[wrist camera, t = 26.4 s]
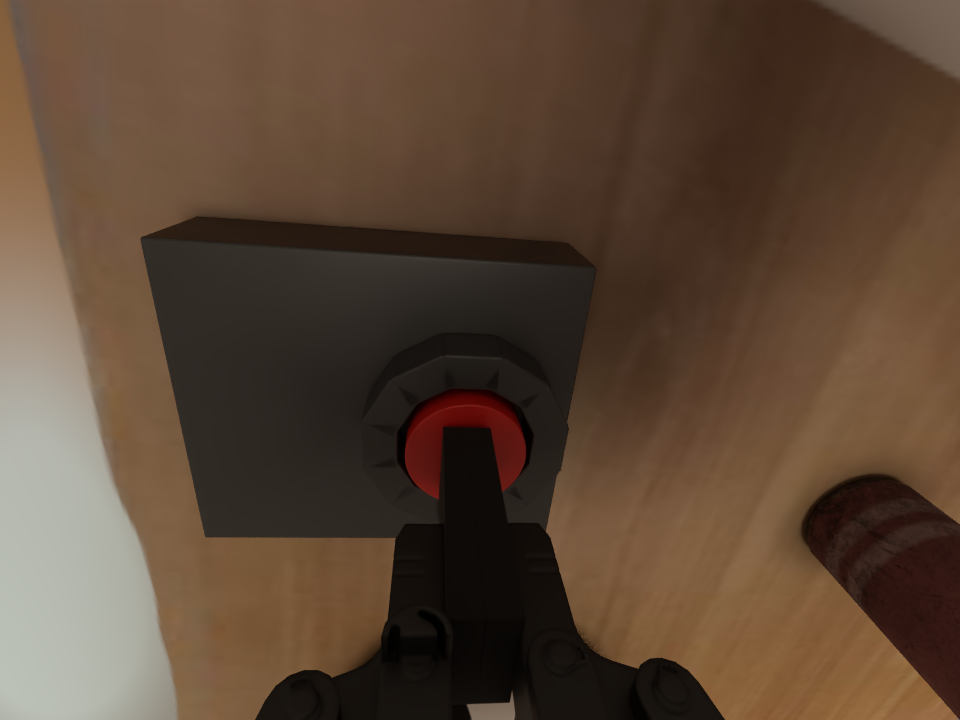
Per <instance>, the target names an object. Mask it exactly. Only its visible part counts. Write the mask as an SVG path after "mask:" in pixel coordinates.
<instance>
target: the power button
mask: <svg viewBox="0 0 960 720" xmlns="http://www.w3.org/2000/svg"><path fill="white" fill-rule="evenodd" d="M443 426H444V427H483V428H491V433H492V438H493V444H494V449H495V455H496V460H497V465H498V471H499V476H500V482H501V487H502V492H503V491H504V490H505V489H507V488H508V487H509V486H510V485H511V484H512V483H513V482H514V481H515V480H516V478H517V477H518V476H519V474H520V472H521V470H522V468H523V465H524V462H525V458H526V444H525V440H524V436H523V432H522V429H521V425H520V422H519V418H518V414H517V411H516V409H515V406H514V405H513V403H512V402H510V401H508V400H506V399H505V398H503V397H501V396H499V395H498V394H496V393H494V392H493V391H491V390H476V389H449V390H447V391H445V392H443V393H441V394H438V395H436V396H434V397H432V398H430V399H427V400H425V401H423V402H421V403H419V404H417V406H416V407H415V409H414V410H413V411H412V413H411V414H410V416H409V419H408V427H407V437H406V447H405V463H406V468H407V470H408V473H409V475H410V476H411V478H412V480H413V481H414V482H415V483H416V485H417V486H418V487H419V488H420V489H422V490H423V491H424V492H426V493H427V494H429V495H431V496H432V497H435V498H437V499H439V484H440V468H441V452H442V437H443Z"/></svg>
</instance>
